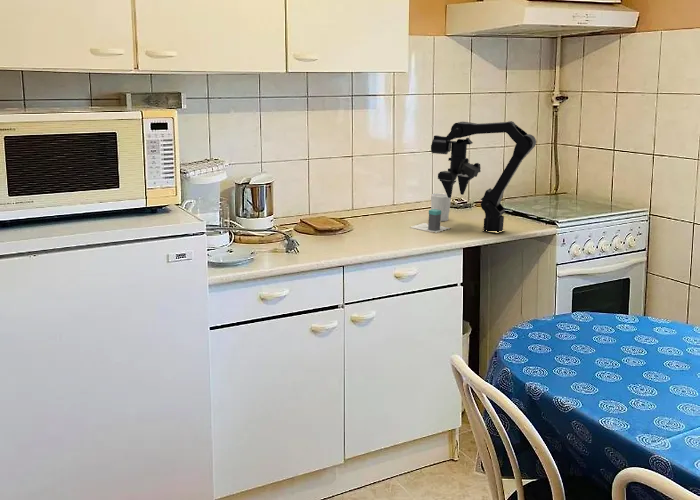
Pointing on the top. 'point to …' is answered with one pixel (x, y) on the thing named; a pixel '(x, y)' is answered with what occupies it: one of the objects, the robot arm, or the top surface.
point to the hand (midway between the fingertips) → (455, 196)
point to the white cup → (441, 204)
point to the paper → (425, 227)
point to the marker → (434, 219)
